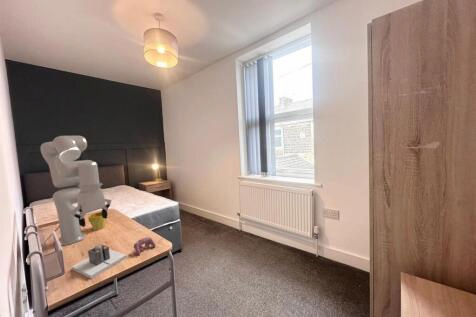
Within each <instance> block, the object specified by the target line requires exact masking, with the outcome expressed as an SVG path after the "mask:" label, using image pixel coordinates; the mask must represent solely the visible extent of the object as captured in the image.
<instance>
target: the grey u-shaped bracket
mask: <svg viewBox="0 0 476 317" xmlns="http://www.w3.org/2000/svg"><path fill="white" fill-rule="evenodd" d="M100 245H102V250H103V258H105V260H108V259H110V254H109V249H110V248H109V247H110V246H108V245H105V244H100ZM87 253H88V258H89V262H90V263H91V264H94V265H96V266H97V265H99V264H101V258H100V251H96V252H95V247H93V248H91V249H89V250H87Z"/></svg>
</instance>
